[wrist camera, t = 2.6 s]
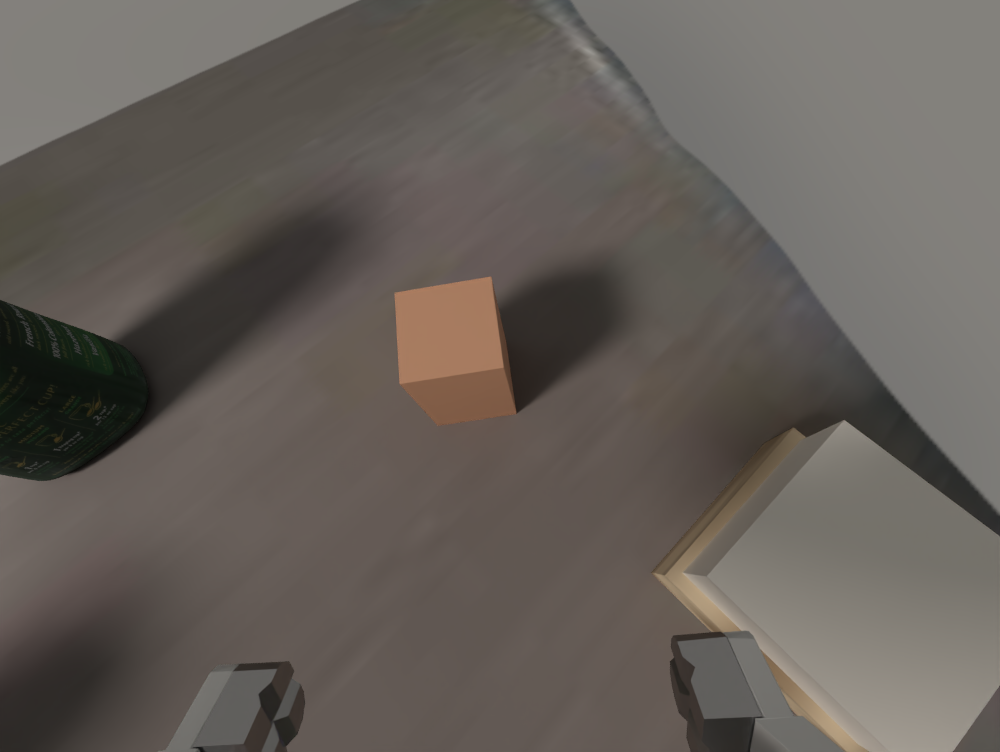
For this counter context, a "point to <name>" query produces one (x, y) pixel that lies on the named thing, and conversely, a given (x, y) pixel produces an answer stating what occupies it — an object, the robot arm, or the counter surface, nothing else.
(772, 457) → the tower base
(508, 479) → the counter surface
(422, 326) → the pillar
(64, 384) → the coffee jar
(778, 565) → the tower top
